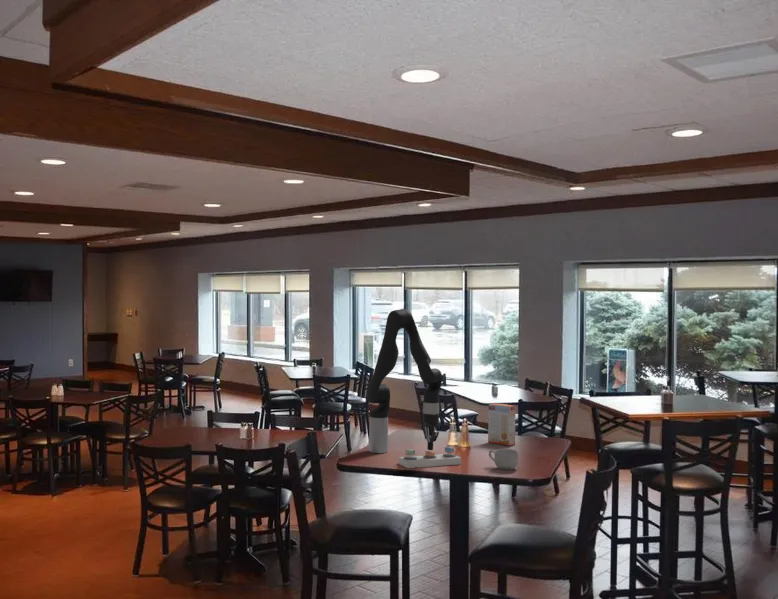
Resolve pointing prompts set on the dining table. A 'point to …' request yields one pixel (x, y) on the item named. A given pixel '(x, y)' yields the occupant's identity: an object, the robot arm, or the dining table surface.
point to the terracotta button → (430, 453)
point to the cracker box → (501, 424)
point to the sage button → (410, 452)
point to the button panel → (429, 460)
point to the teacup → (505, 458)
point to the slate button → (449, 449)
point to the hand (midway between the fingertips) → (430, 449)
